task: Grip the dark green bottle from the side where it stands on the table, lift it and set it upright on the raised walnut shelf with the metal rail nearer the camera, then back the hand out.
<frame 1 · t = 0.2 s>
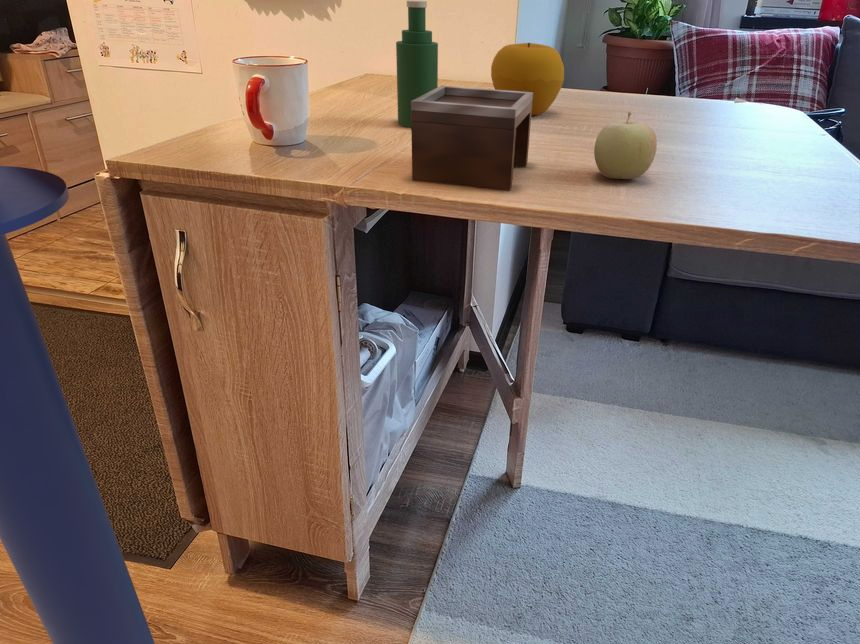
fruit: (620, 178, 80), on the table
bottle: (417, 123, 103), on the table
shelf: (472, 172, 79), on the table
apple: (524, 113, 114), on the table
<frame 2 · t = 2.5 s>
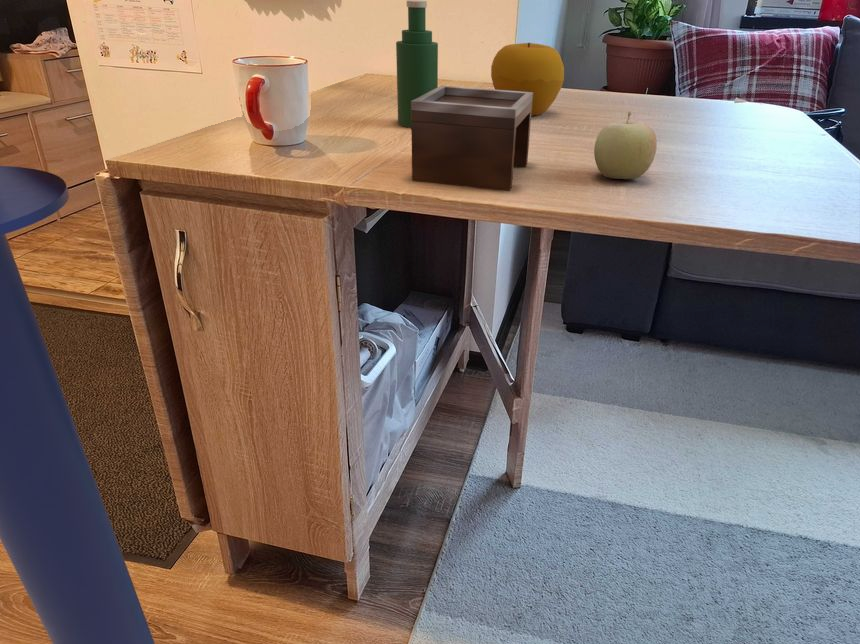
nothing on the table moved.
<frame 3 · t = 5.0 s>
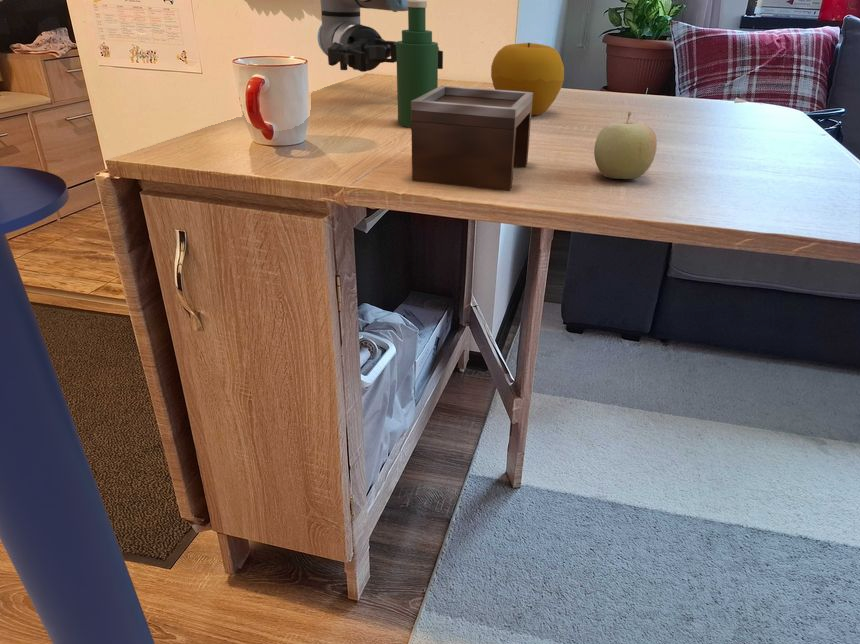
hand: (403, 61, 103), 9 cm above the table, tool horizontal, fingers open, 13 cm apart
nothing on the table moved.
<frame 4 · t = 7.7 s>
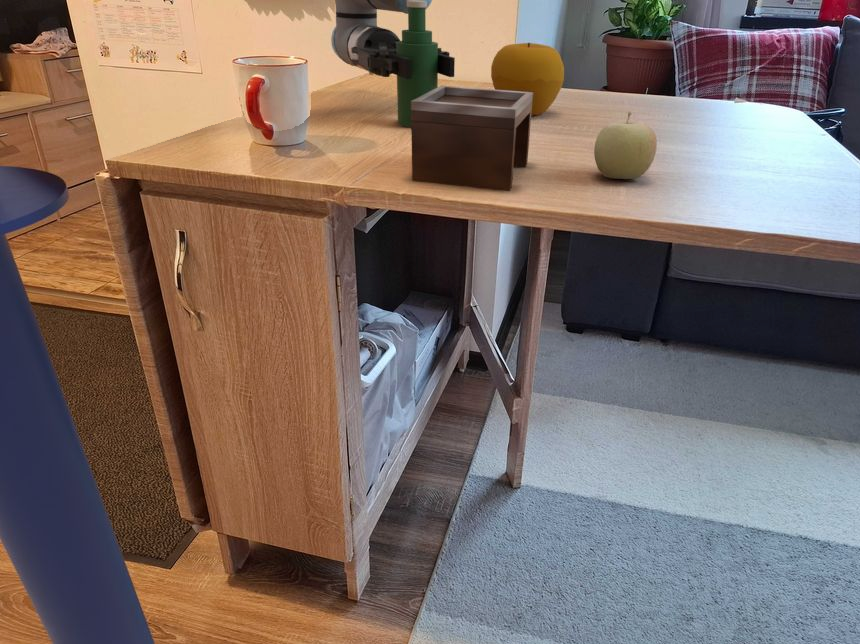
hand: (430, 68, 94), 9 cm above the table, tool horizontal, fingers closed on bottle, 6 cm apart
bottle: (417, 123, 103), on the table, touching gripper
everything else where it was.
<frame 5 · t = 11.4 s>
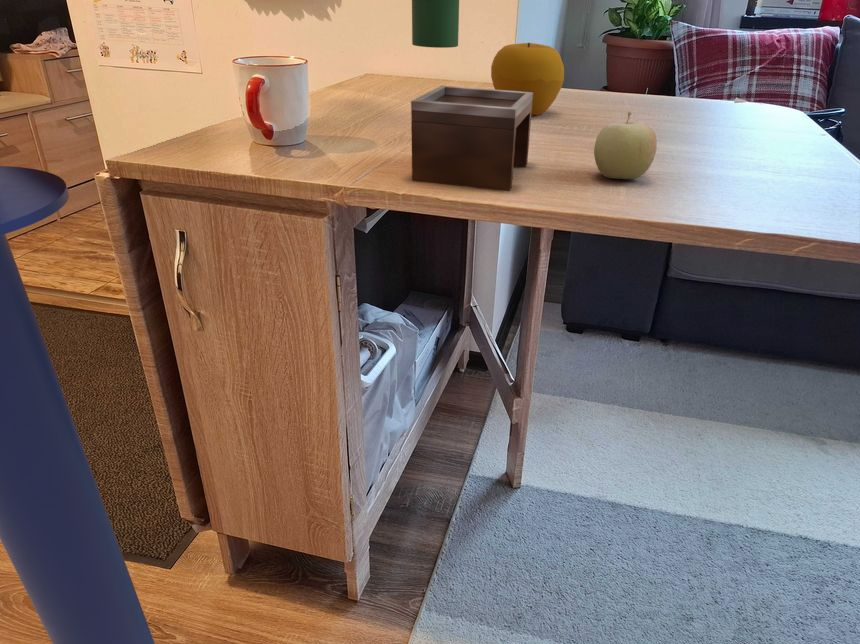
bottle: (435, 45, 88), point 13 cm above the table, touching gripper
everything else where it was.
when the fingers open (17 cm above the table, at t = 15.5 s): bottle stays where it is, resting on shelf.
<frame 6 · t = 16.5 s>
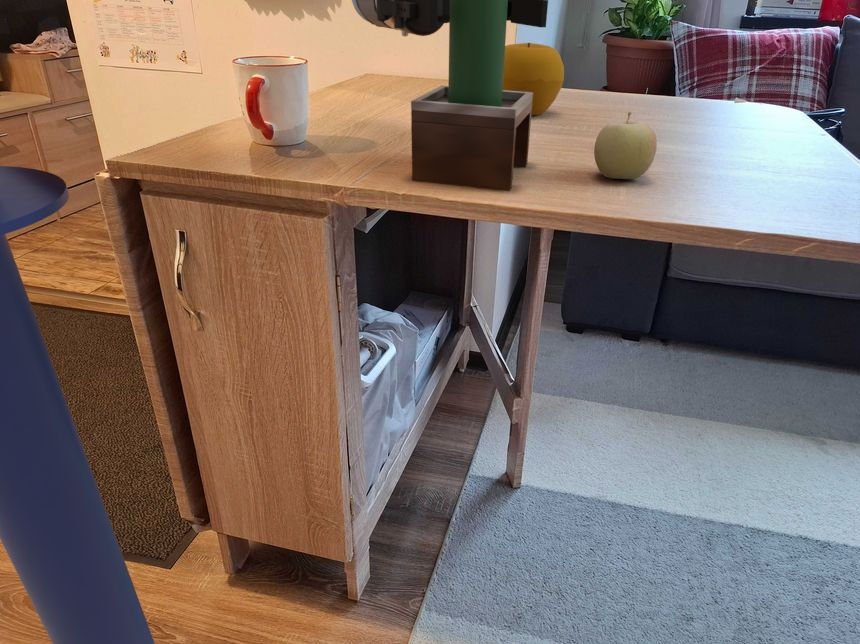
hand: (491, 13, 68), 18 cm above the table, tool horizontal, fingers open, 13 cm apart
bottle: (474, 105, 75), point 8 cm above the table, touching shelf
everything else where it was.
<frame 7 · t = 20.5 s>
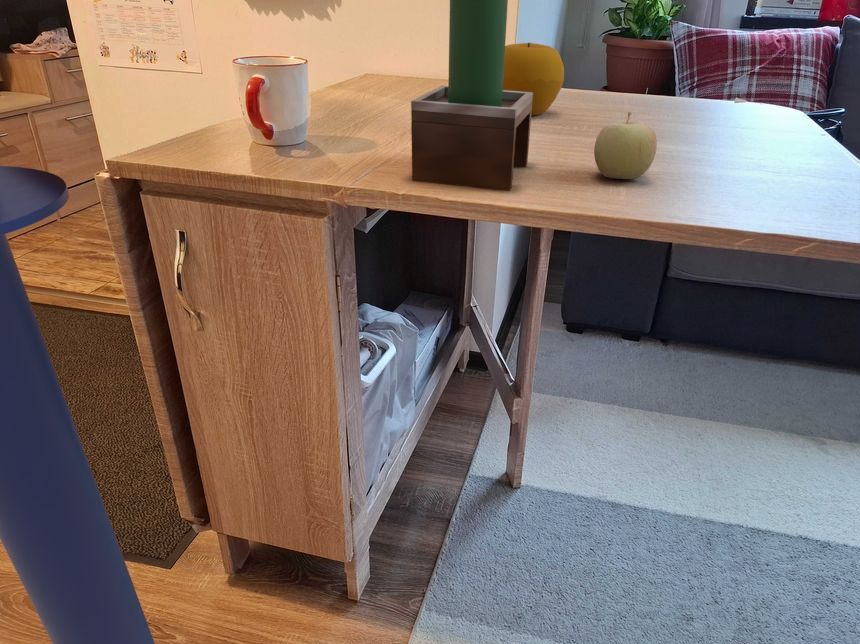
nothing on the table moved.
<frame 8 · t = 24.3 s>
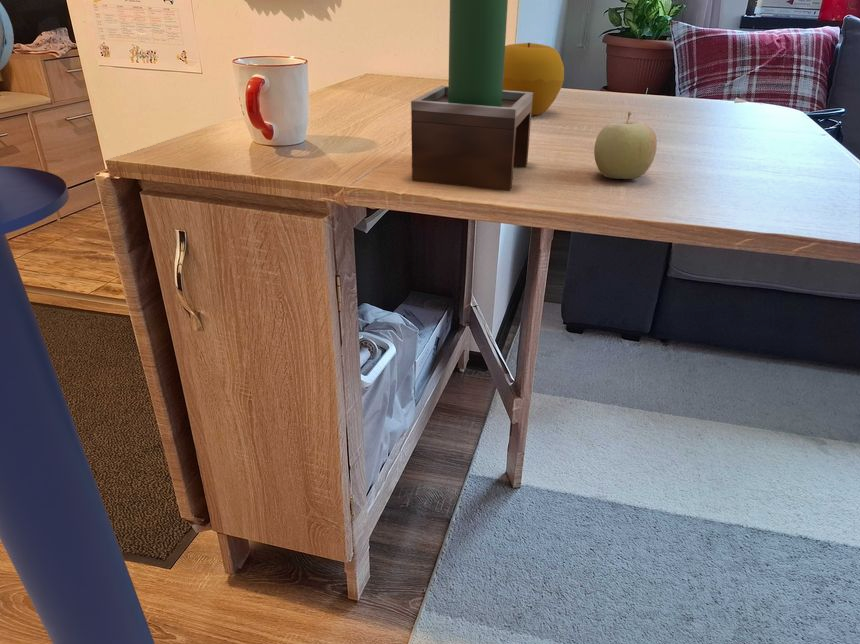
nothing on the table moved.
at the end: bottle inside the target area on the shelf (0.0 cm from its centre), point 8.0 cm above the shelf's base; bottle tilted 0°; the gripper is holding nothing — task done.
